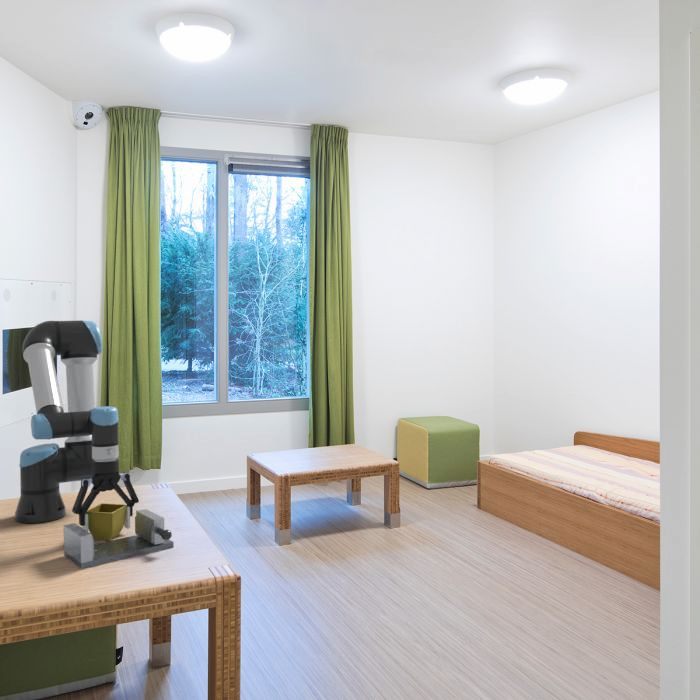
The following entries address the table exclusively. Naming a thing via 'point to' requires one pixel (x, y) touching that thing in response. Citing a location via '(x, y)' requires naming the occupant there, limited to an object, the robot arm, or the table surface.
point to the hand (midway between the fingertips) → (106, 531)
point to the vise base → (104, 547)
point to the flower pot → (106, 520)
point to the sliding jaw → (151, 527)
